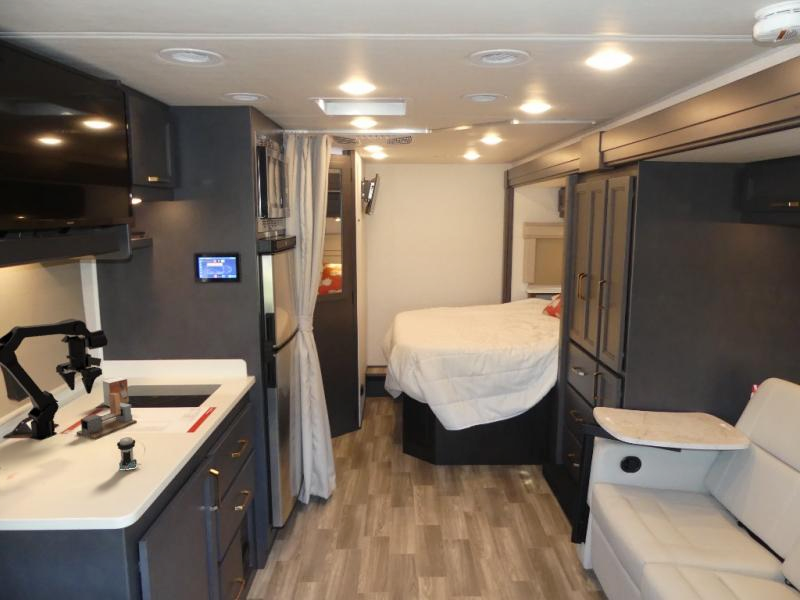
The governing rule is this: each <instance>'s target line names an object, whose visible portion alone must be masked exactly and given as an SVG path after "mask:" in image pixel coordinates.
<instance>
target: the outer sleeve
mask: <svg viewBox="0 0 800 600" xmlns="http://www.w3.org/2000/svg"><path fill="white" fill-rule="evenodd" d="M102 416H103V415H99V414H91V415H88V416H86V417H84V418H80V427H81V428H80V429H81V430H82V434H85V435H92V434H95V433H97V432H100V431H102V430H103V427H102Z"/></svg>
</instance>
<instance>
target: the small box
mask: <svg viewBox="0 0 800 600" xmlns="http://www.w3.org/2000/svg"><path fill="white" fill-rule="evenodd" d="M102 392H103V393H102V394H103V404H104V405H105V406H107V407H110V402H109V394H110V393H118V394H119V397H120V403H126V404H129V388H128V378H126V377H124V376H118V377H114V378H111V379H106V380H102Z"/></svg>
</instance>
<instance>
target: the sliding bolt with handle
mask: <svg viewBox="0 0 800 600" xmlns="http://www.w3.org/2000/svg"><path fill="white" fill-rule="evenodd" d="M109 402H110V406H109V413H106V414H104V415H101V416H102V422H105V421H108V420H110V419H113V418H115V417H117V416H120V415H122V414H123V409H120V397H119V394H118V393H110V394H109Z"/></svg>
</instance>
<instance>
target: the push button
mask: <svg viewBox="0 0 800 600" xmlns="http://www.w3.org/2000/svg"><path fill="white" fill-rule="evenodd" d="M135 445H136V440H135V439H133V438H132V437H131V436H130V437H129V436H128V437H127V436H126V437H124V438H120V440H119V442H117V443H116V446H117V449H118V450H119V451H120V461H119V462H118V464H119V465H118V466H119V468H118V469H119V470H120V469H125V470H126V469H129V468H135V467H136V466H142V463H138V461H137V459H136V458H134V448H135ZM125 470H124V471H125Z"/></svg>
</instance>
